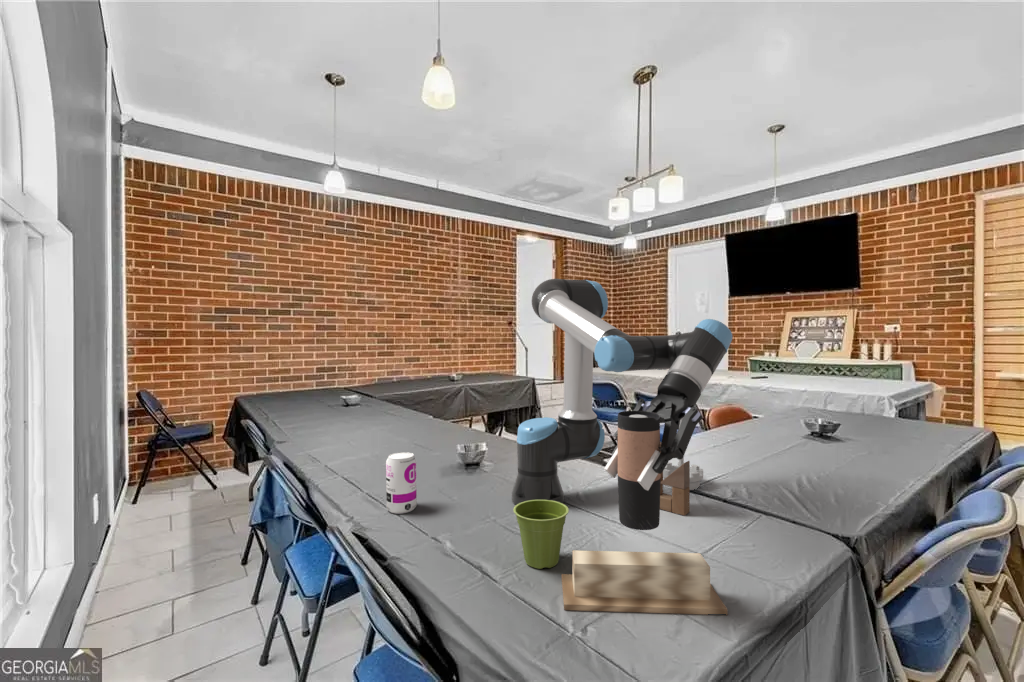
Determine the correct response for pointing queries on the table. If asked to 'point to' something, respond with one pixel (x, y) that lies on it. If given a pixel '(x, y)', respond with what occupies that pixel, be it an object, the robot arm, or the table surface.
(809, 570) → the table surface
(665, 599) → the ridge
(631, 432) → the travel mug
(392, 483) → the supplement can
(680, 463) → the flag stand
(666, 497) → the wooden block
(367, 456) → the table surface
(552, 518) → the plant pot
